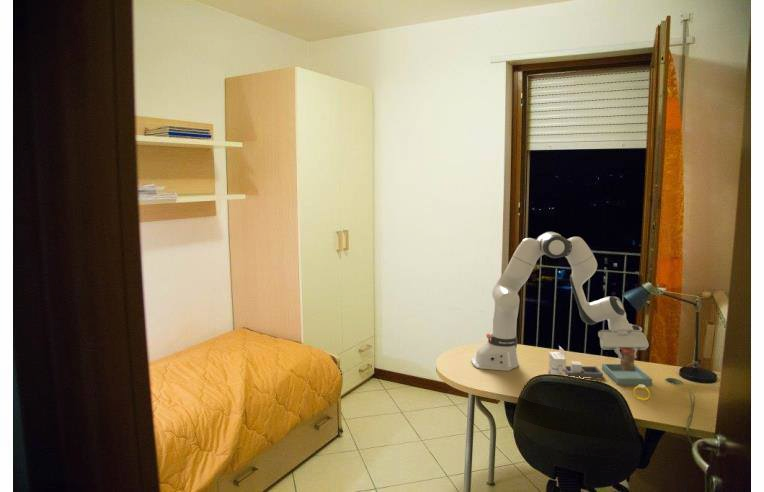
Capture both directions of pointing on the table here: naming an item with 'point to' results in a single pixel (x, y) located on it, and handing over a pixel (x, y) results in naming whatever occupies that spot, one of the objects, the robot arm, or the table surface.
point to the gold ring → (642, 388)
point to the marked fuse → (627, 359)
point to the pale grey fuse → (576, 366)
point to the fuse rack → (583, 372)
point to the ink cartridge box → (557, 362)
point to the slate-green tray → (626, 375)
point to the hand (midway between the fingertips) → (628, 358)
